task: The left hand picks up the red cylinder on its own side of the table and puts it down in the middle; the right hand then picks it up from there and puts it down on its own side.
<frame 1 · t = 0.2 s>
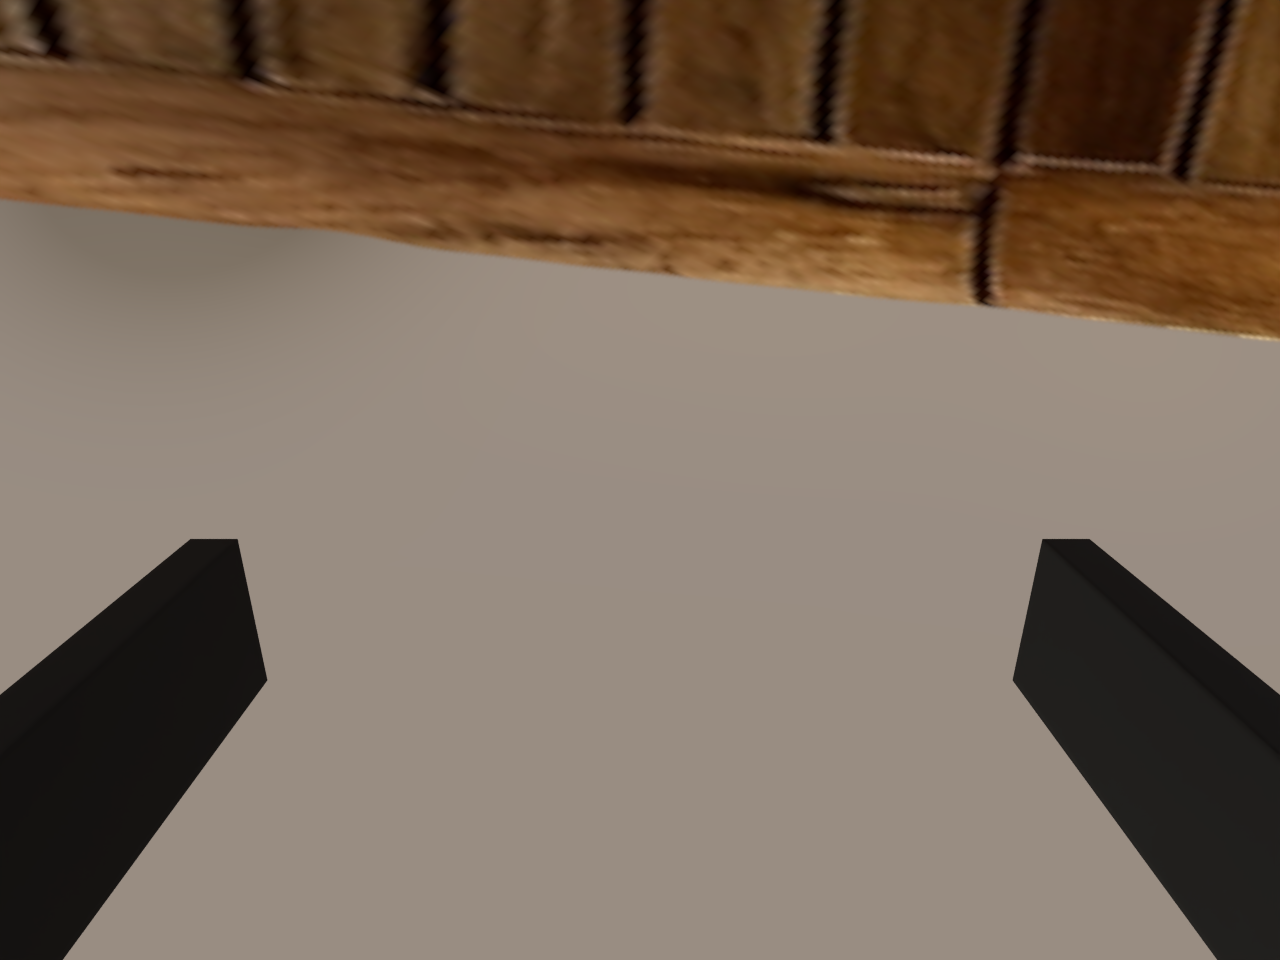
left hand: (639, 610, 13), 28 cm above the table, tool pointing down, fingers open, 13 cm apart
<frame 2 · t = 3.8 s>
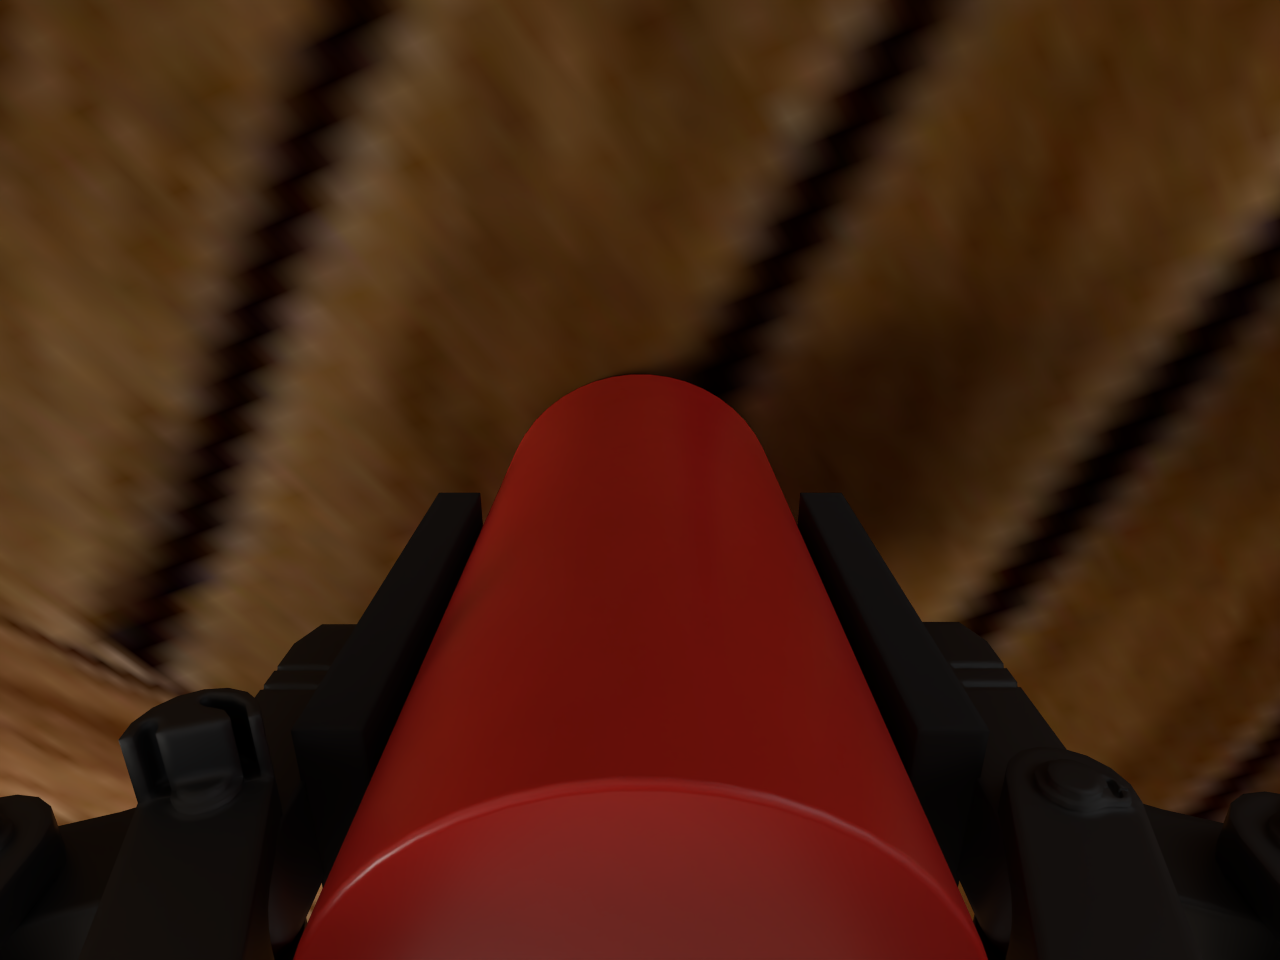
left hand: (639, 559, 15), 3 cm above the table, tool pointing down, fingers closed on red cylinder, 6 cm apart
red cylinder: (640, 503, 17), on the table, touching left hand
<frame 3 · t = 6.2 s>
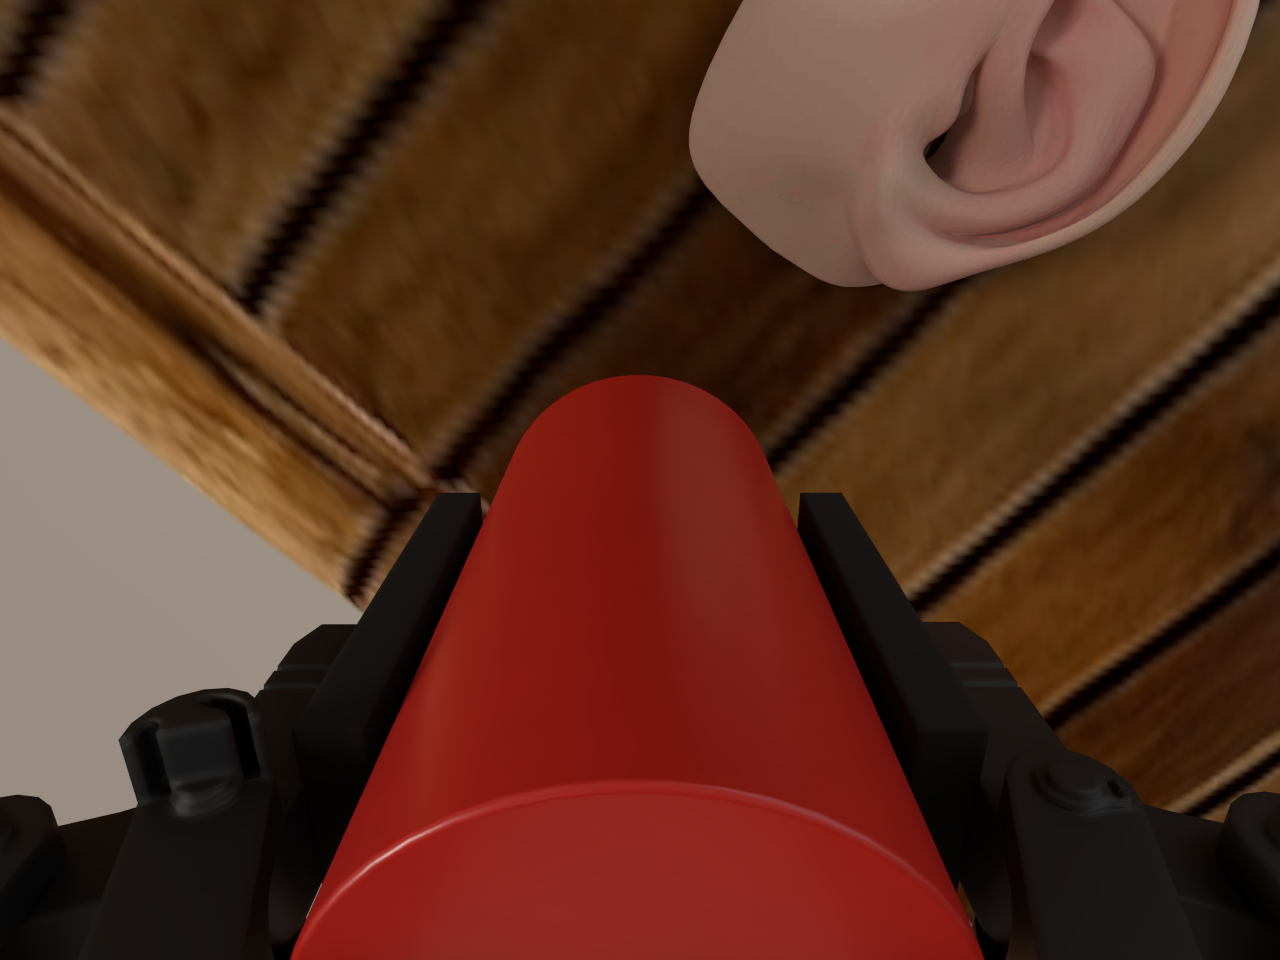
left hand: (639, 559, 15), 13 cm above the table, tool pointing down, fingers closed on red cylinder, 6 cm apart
red cylinder: (638, 504, 17), point 10 cm above the table, touching left hand
anatomical model: (922, 99, 23), on the table
when the left hand's fingers open (5 cm above the table, at t = 8.8 s): red cylinder drops 2 cm, on the table.
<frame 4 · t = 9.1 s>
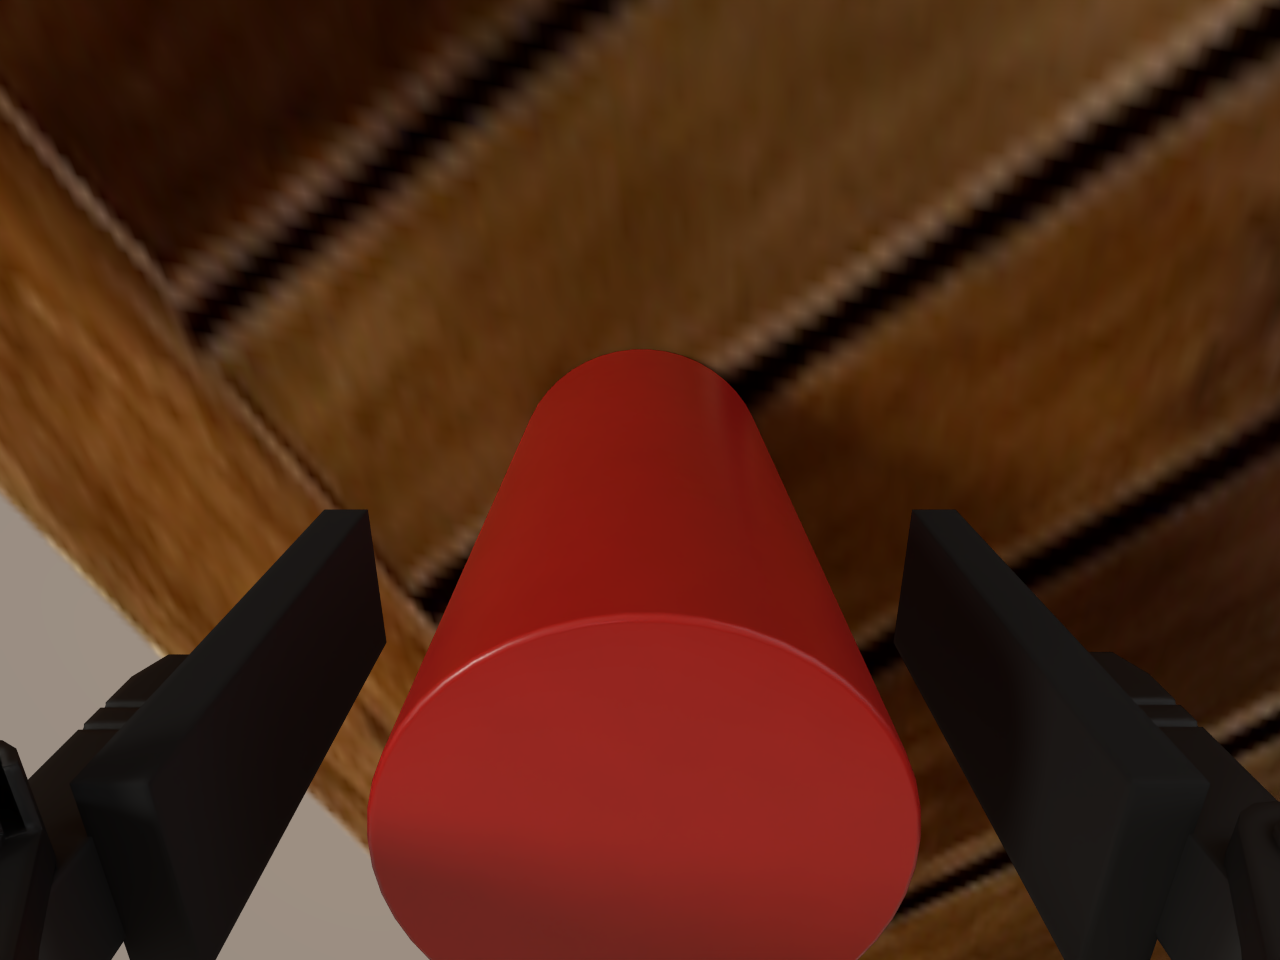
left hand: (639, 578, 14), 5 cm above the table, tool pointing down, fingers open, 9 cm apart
red cylinder: (641, 467, 19), on the table
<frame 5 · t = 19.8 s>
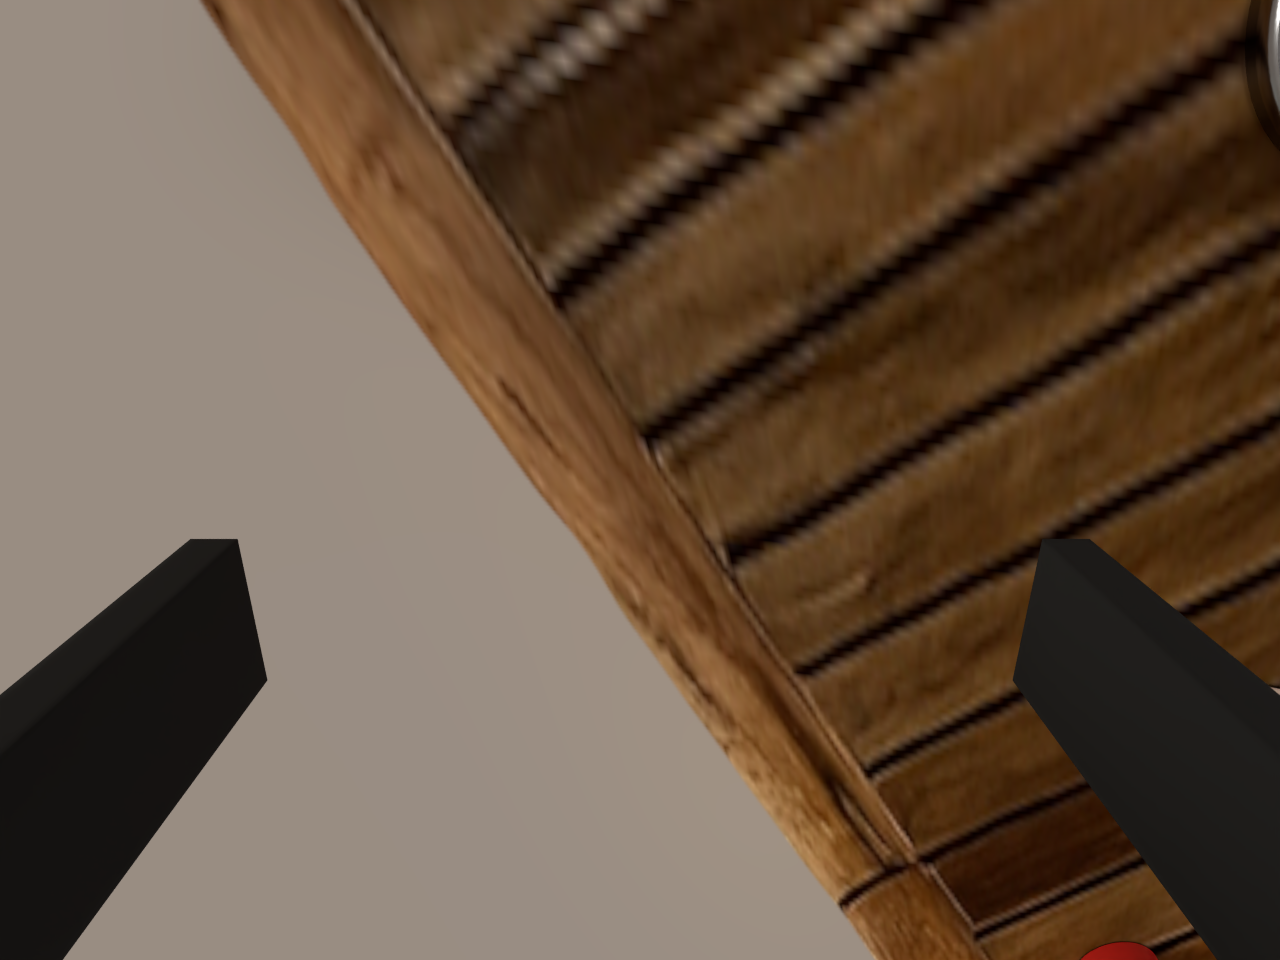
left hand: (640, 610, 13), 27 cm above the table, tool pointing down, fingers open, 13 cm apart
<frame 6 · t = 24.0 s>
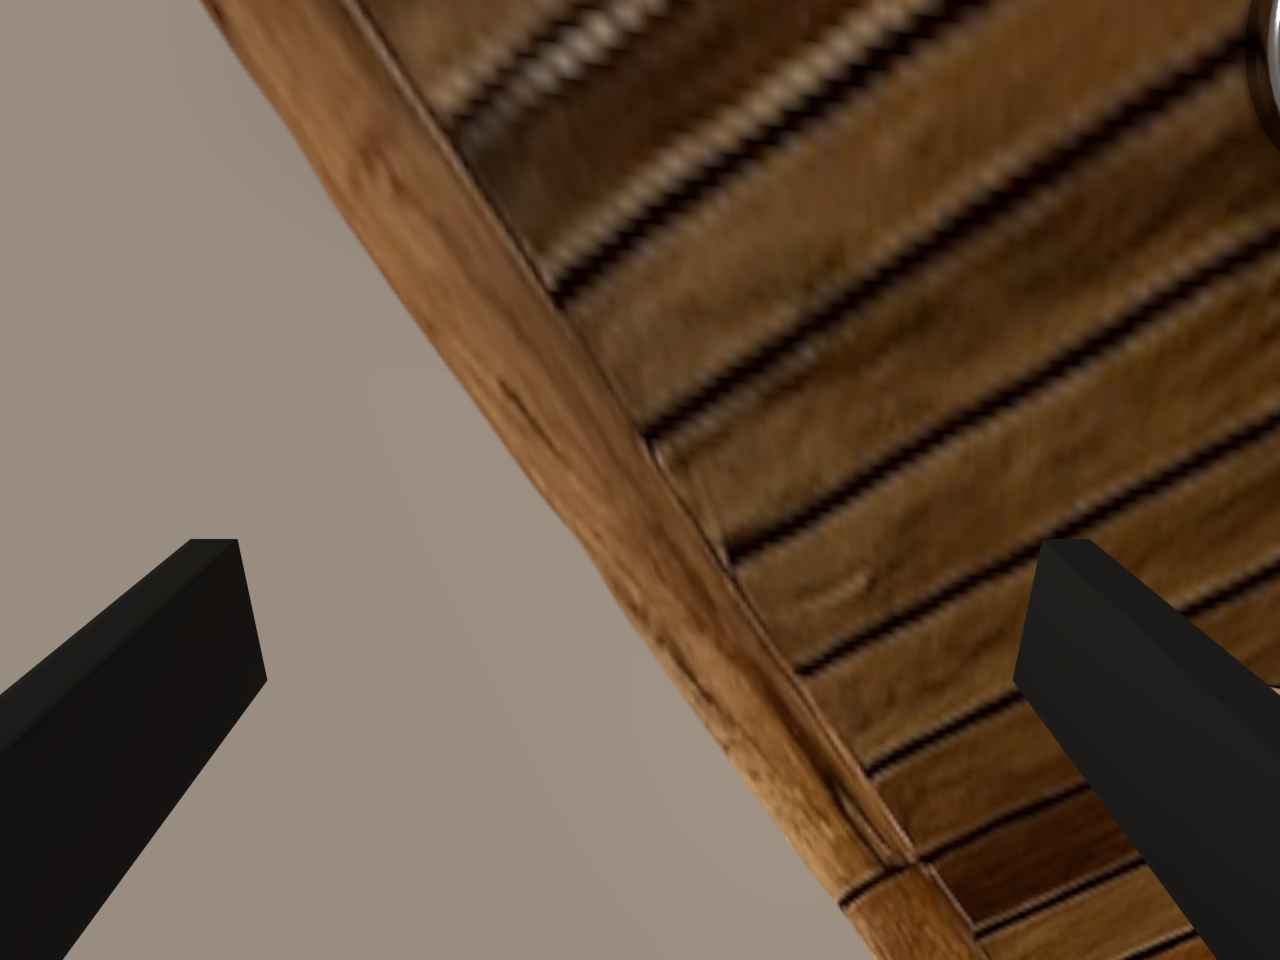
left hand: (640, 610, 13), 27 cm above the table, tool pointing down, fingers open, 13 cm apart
when the right hand's fingers open (5 cm above the table, at t = 28.5 s): red cylinder drops 2 cm, on the table.
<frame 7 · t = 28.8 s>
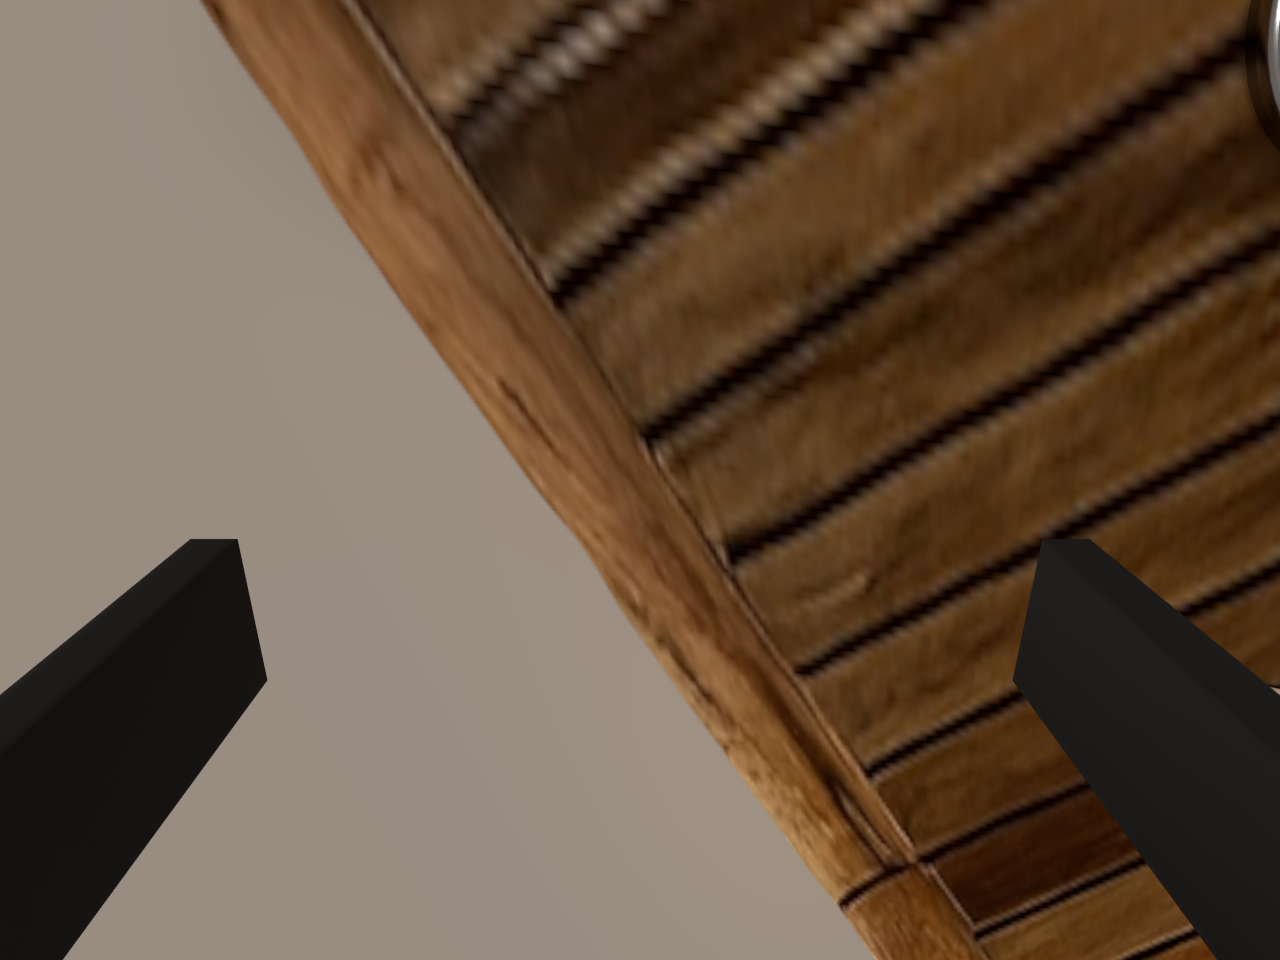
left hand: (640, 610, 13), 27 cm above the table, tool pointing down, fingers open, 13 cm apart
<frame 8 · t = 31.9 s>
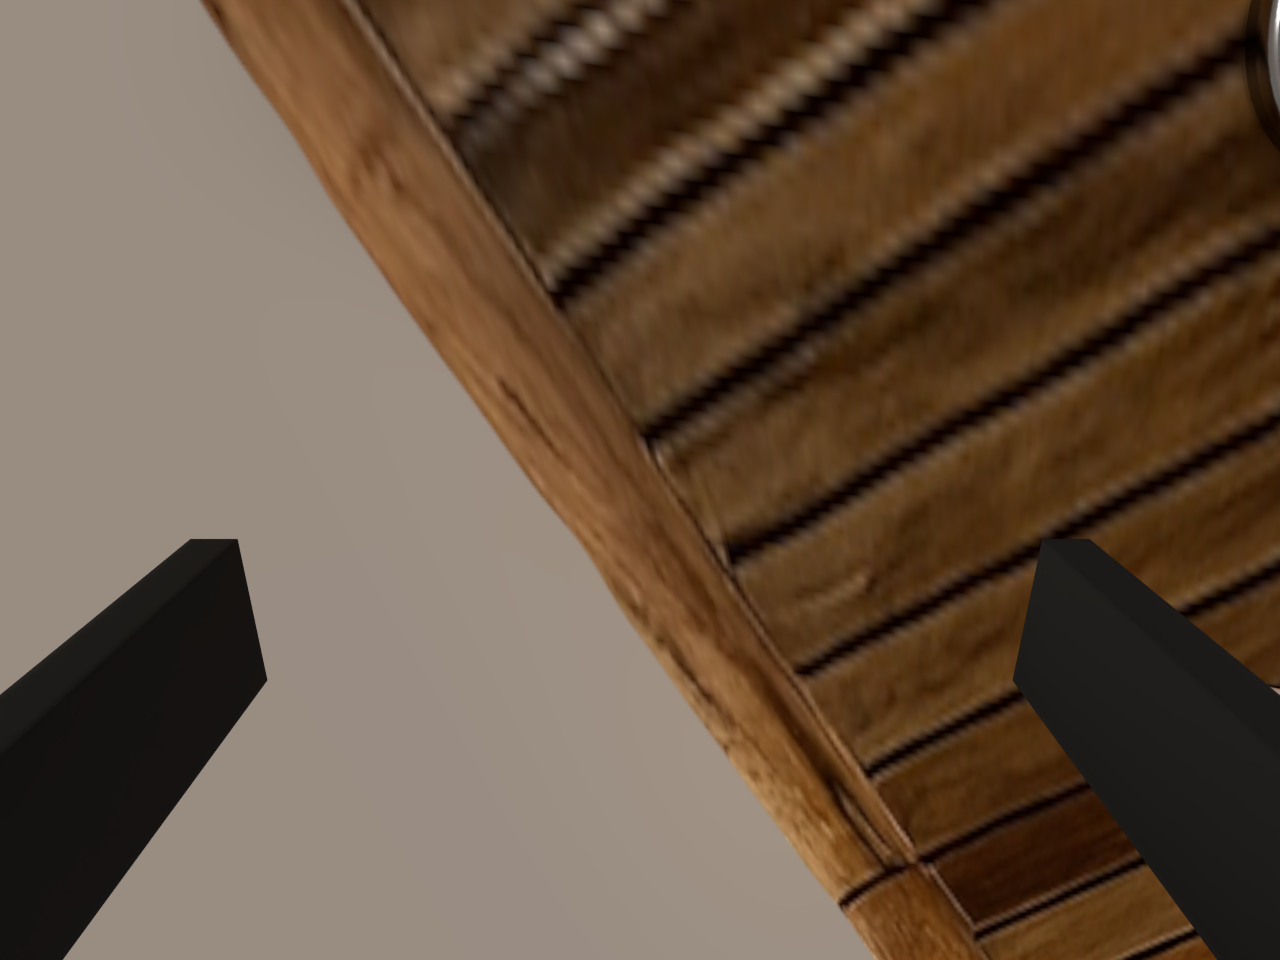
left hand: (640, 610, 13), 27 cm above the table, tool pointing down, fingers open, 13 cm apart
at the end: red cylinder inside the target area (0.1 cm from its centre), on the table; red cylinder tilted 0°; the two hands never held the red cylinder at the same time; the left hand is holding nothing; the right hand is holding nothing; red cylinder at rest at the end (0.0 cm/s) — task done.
